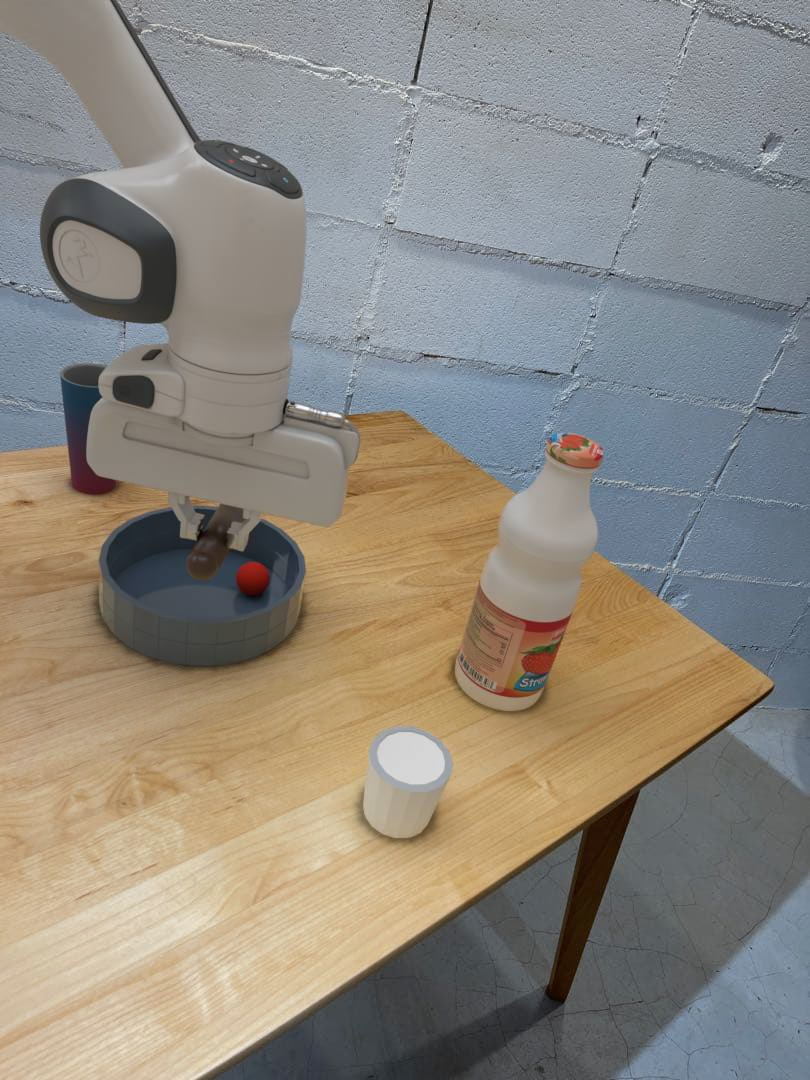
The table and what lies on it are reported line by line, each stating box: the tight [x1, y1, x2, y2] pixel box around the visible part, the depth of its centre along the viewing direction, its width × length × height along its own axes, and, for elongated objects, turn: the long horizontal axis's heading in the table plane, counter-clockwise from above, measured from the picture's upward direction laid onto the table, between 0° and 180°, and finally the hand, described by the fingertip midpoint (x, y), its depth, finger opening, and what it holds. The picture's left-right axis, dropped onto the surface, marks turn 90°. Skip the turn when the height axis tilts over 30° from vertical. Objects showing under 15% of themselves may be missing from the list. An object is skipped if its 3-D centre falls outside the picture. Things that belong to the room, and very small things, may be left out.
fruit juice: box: [454, 431, 604, 712], centre depth 78 cm, size 9×9×28 cm
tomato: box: [236, 562, 270, 595], centre depth 88 cm, size 4×4×4 cm
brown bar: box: [186, 503, 245, 581], centre depth 70 cm, size 13×3×3 cm, turn 174°
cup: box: [59, 362, 117, 496], centre depth 97 cm, size 7×7×15 cm
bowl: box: [98, 504, 307, 667], centre depth 85 cm, size 20×20×6 cm
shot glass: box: [362, 725, 454, 839], centre depth 67 cm, size 7×7×7 cm
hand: (213, 541), depth 68 cm, fingers closed on brown bar, 2 cm apart
